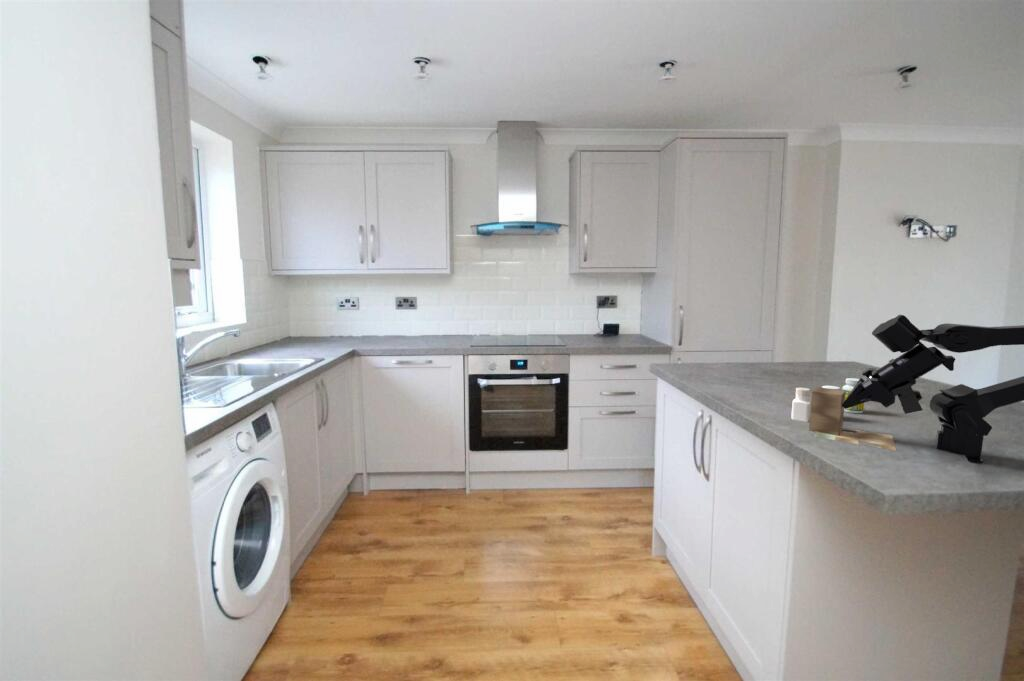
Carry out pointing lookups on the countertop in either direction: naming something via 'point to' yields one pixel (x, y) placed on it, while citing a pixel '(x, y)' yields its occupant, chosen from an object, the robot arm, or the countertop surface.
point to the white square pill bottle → (801, 405)
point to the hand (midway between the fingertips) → (843, 406)
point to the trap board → (861, 438)
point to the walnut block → (827, 411)
